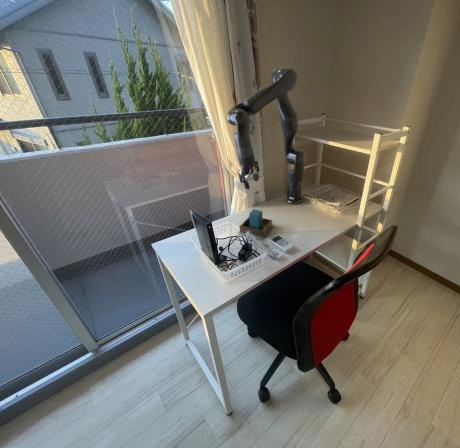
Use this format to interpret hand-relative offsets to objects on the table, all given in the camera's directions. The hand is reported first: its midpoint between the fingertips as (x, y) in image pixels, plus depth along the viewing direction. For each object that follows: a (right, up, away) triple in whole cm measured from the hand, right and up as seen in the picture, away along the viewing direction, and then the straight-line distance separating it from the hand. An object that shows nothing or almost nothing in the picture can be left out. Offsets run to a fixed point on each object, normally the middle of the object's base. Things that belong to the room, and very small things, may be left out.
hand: (252, 184), depth 126 cm
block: (+2, -23, +4) cm, 23 cm away
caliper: (+5, -32, -9) cm, 34 cm away
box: (+2, -23, +4) cm, 24 cm away
